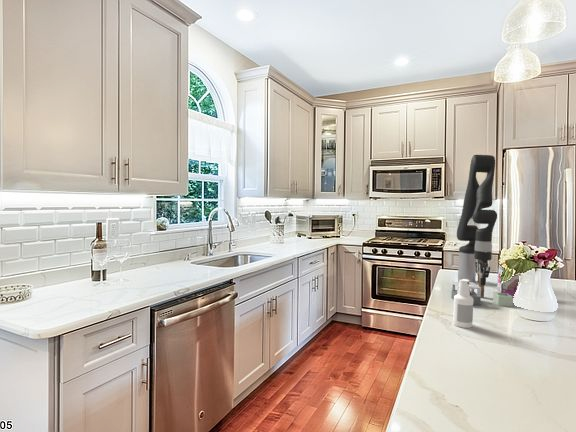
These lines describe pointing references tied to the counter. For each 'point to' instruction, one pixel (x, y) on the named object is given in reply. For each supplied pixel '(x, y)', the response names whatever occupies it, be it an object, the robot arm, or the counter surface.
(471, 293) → the box
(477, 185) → the robot arm
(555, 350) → the counter surface
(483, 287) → the walnut dowel
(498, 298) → the green square hole block
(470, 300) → the spray bottle
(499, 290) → the candy bar box
